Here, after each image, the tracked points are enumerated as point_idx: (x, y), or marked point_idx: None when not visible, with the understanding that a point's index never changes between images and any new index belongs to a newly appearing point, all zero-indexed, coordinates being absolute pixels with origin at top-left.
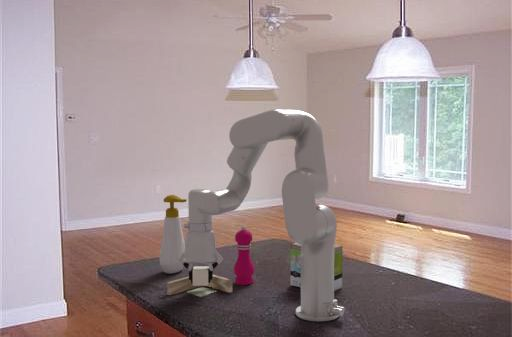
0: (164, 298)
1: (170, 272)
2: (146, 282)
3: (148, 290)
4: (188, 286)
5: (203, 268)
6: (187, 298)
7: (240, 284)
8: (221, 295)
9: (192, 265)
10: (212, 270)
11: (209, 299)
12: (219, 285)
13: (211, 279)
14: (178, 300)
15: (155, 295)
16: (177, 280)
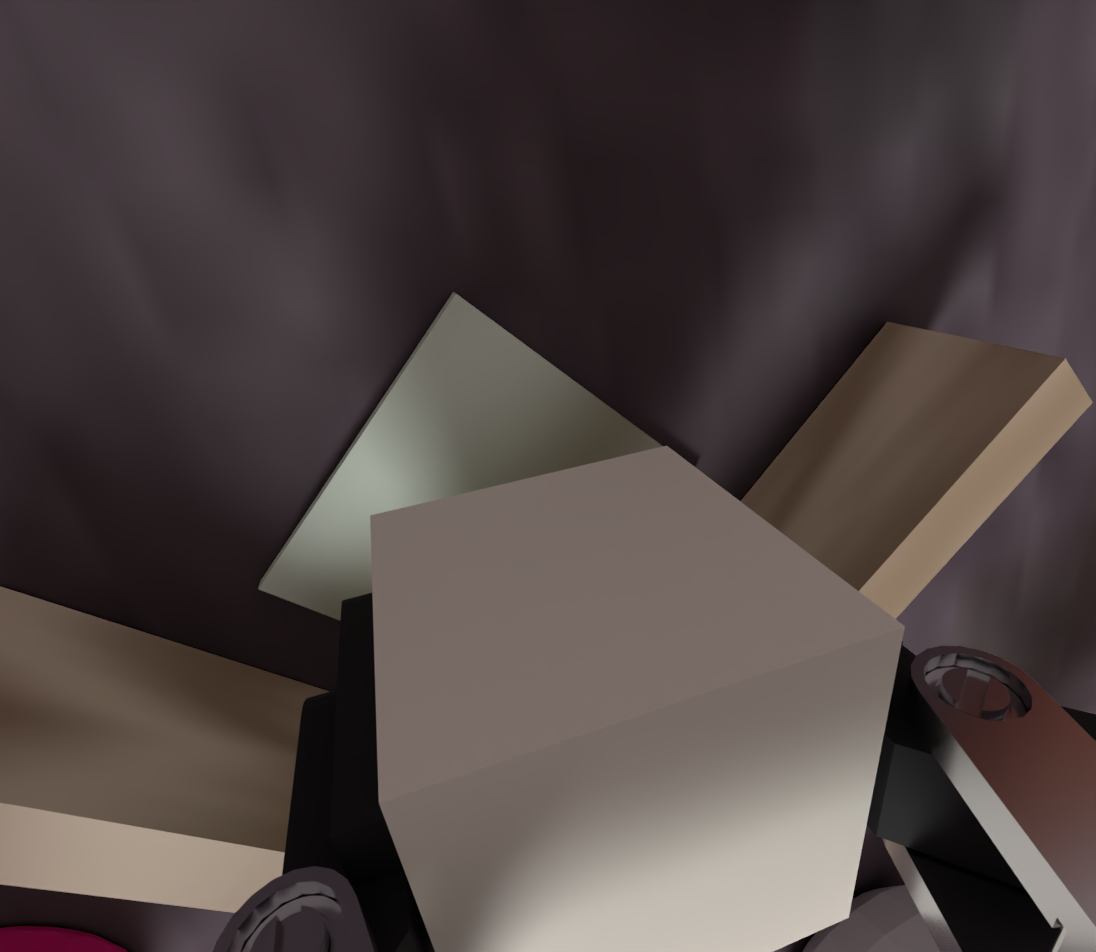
0: (955, 183)
1: (877, 898)
2: (1044, 671)
3: (1067, 471)
4: None
5: (595, 900)
6: (656, 199)
7: (2, 931)
8: (87, 423)
9: (1026, 829)
10: (246, 901)
11: (240, 150)
12: (240, 718)
13: (334, 692)
14: (780, 78)
15: (1034, 308)
16: (937, 532)
